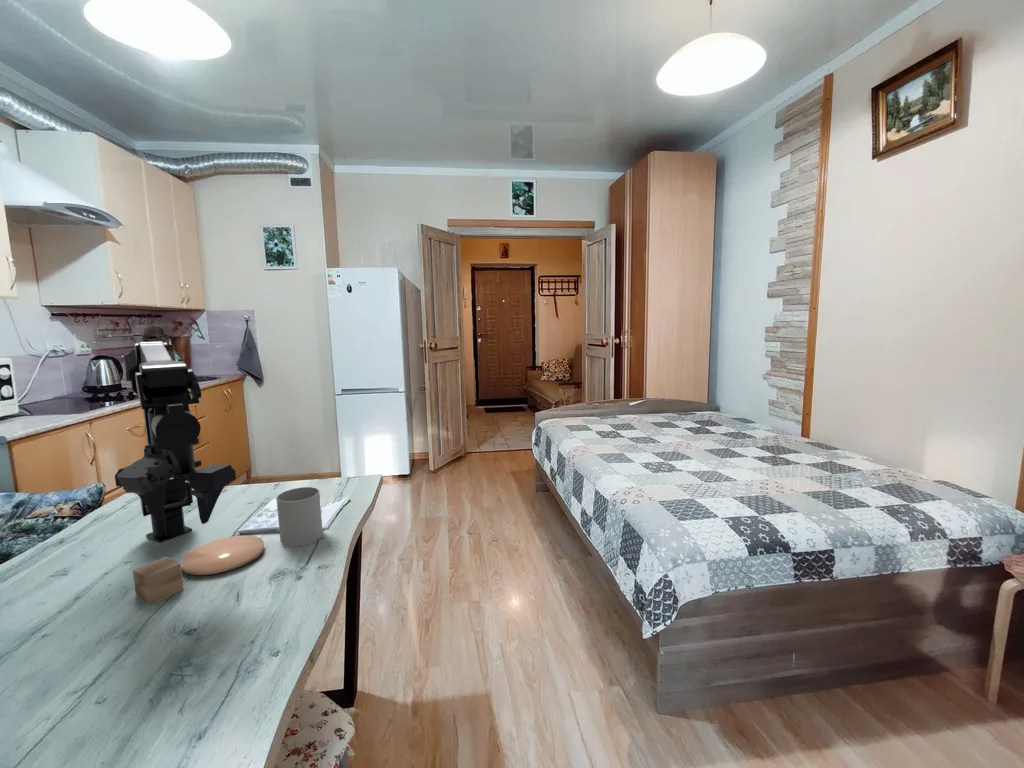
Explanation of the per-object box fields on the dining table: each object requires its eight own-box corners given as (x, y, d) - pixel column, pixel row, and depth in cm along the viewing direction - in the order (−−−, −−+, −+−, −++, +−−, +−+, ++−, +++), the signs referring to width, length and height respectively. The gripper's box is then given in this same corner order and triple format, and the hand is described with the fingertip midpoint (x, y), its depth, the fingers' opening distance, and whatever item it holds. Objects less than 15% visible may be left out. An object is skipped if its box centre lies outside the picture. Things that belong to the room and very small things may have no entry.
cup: (306, 548, 93) (302, 502, 92) (271, 545, 95) (267, 500, 94) (330, 530, 101) (326, 488, 100) (298, 527, 103) (294, 486, 102)
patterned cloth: (275, 503, 119) (274, 496, 118) (352, 501, 120) (352, 493, 119) (235, 537, 100) (234, 528, 99) (327, 534, 101) (327, 525, 101)
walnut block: (136, 596, 77) (132, 569, 77) (169, 582, 82) (166, 556, 81) (150, 605, 75) (146, 577, 74) (183, 589, 79) (180, 563, 79)
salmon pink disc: (167, 566, 87) (166, 559, 87) (239, 536, 99) (239, 530, 99) (206, 585, 80) (205, 578, 80) (279, 551, 92) (278, 544, 92)
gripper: (74, 447, 71) (88, 540, 73) (179, 451, 68) (190, 547, 70) (141, 430, 82) (151, 511, 84) (234, 433, 79) (241, 516, 81)
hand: (181, 521), depth 79 cm, fingers open, 9 cm apart
